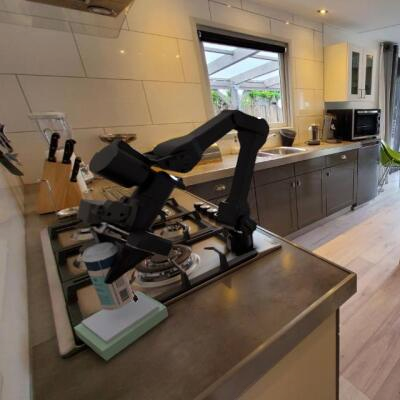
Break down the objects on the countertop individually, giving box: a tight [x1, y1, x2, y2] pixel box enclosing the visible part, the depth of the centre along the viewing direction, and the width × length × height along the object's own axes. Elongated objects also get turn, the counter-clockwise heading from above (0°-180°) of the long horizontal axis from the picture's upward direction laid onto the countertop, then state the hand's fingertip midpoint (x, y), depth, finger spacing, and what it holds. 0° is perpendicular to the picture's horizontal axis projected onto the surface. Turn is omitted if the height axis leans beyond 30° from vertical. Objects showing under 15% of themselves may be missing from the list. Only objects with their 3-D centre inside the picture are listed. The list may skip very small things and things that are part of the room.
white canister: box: [81, 242, 134, 311], centre depth 45 cm, size 5×5×12 cm
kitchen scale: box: [73, 290, 169, 362], centre depth 49 cm, size 11×10×3 cm
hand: (99, 278), depth 44 cm, fingers closed on white canister, 5 cm apart
